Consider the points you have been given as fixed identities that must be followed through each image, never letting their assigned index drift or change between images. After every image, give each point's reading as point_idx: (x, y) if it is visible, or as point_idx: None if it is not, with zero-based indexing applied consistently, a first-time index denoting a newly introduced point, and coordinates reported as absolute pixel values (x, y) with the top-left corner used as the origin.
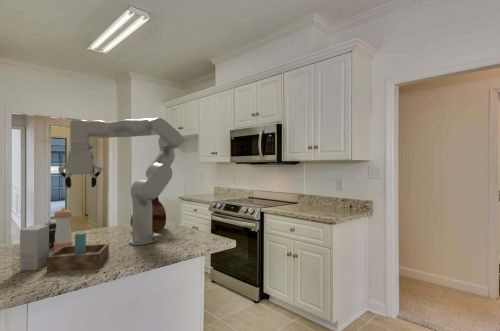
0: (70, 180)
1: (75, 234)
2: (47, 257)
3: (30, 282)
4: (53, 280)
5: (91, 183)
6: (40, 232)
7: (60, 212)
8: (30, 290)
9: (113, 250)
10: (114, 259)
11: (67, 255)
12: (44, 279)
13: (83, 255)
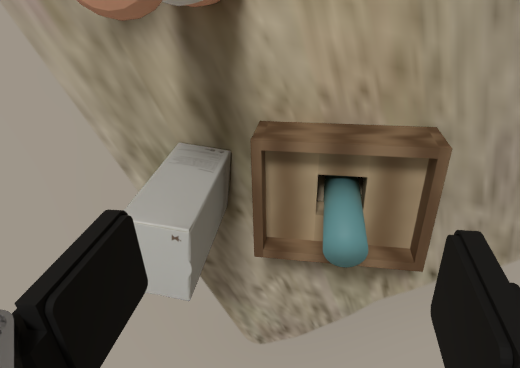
0: (81, 303)
1: (326, 256)
2: (257, 255)
3: (256, 285)
4: (306, 288)
5: (442, 356)
6: (195, 275)
7: (109, 10)
8: (278, 323)
9: (456, 32)
10: (461, 169)
11: (316, 260)
12: (281, 277)
13: (368, 265)
